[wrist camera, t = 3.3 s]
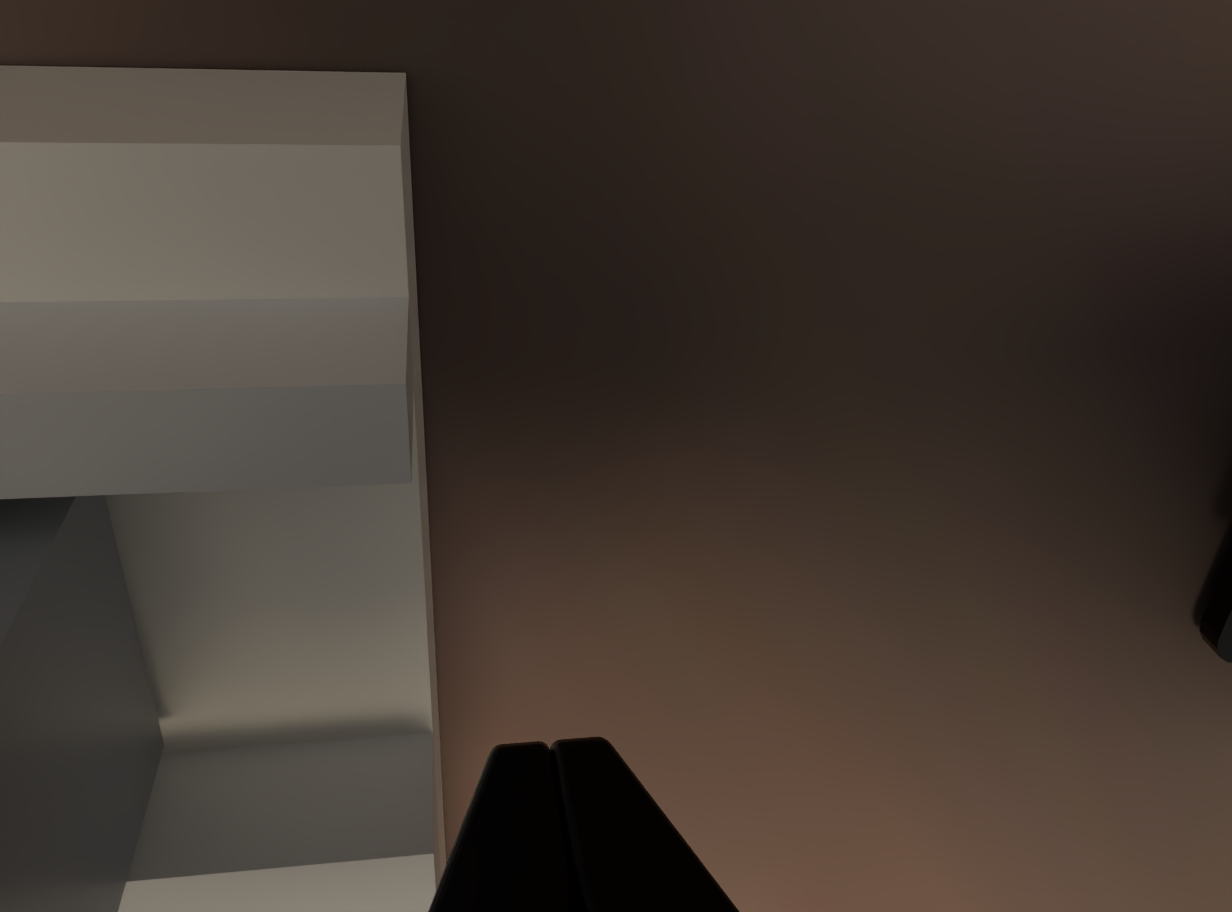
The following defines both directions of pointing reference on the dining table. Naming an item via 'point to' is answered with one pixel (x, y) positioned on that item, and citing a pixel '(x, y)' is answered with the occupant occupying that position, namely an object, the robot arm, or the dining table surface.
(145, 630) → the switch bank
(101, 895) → the switch tab
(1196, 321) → the dining table surface
